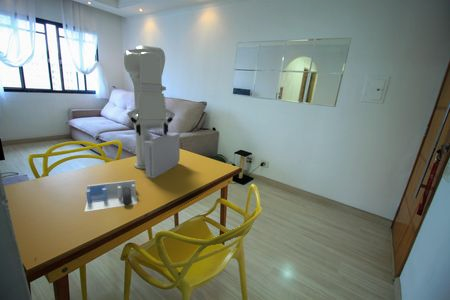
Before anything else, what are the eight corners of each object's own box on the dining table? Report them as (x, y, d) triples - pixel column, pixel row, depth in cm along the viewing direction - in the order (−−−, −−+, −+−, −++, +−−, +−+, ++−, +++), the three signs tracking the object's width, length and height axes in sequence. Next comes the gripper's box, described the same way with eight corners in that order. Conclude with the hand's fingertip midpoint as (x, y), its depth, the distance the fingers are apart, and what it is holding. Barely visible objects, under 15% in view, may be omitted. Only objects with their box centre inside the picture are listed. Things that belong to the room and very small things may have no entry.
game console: (144, 177, 117) (142, 141, 111) (171, 161, 142) (171, 132, 136) (153, 179, 115) (152, 143, 109) (179, 163, 140) (179, 133, 134)
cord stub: (123, 194, 98) (122, 187, 97) (130, 193, 99) (130, 186, 98) (123, 205, 89) (122, 198, 88) (131, 204, 90) (131, 197, 89)
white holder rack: (89, 193, 97) (88, 182, 96) (135, 187, 105) (134, 177, 104) (84, 212, 83) (82, 200, 82) (137, 204, 91) (136, 192, 90)
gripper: (172, 89, 87) (172, 131, 92) (125, 87, 79) (128, 133, 84) (177, 90, 80) (176, 135, 85) (125, 88, 73) (129, 137, 78)
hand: (152, 134), depth 85 cm, fingers open, 9 cm apart
